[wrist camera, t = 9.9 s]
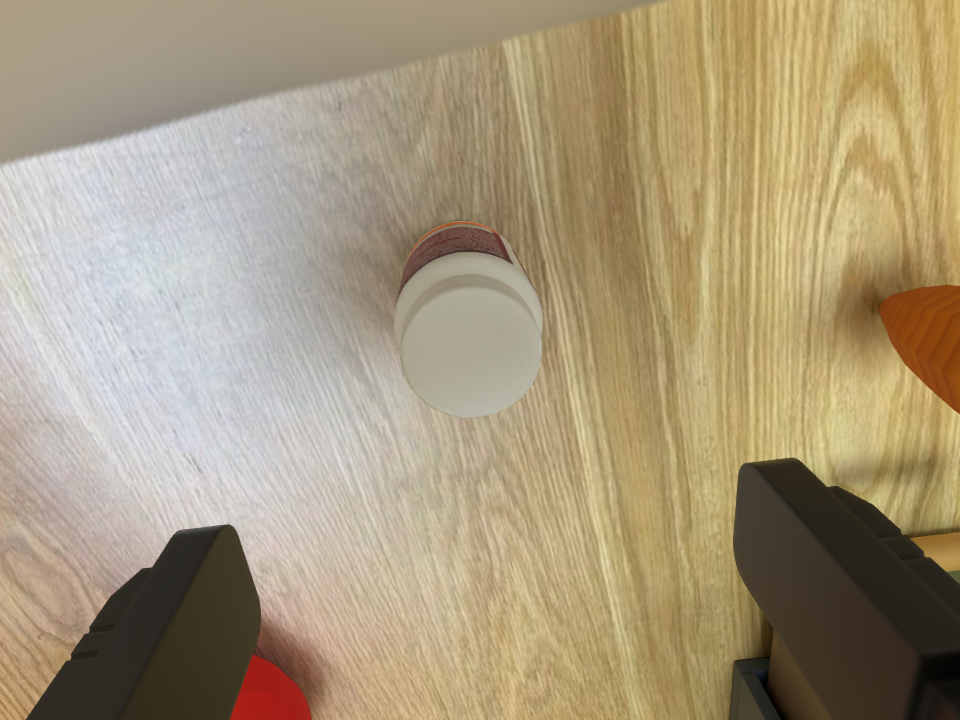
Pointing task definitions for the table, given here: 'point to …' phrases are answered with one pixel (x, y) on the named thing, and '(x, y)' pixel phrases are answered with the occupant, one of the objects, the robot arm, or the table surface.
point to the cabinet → (751, 691)
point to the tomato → (269, 695)
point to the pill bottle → (467, 321)
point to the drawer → (786, 681)
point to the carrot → (928, 336)
